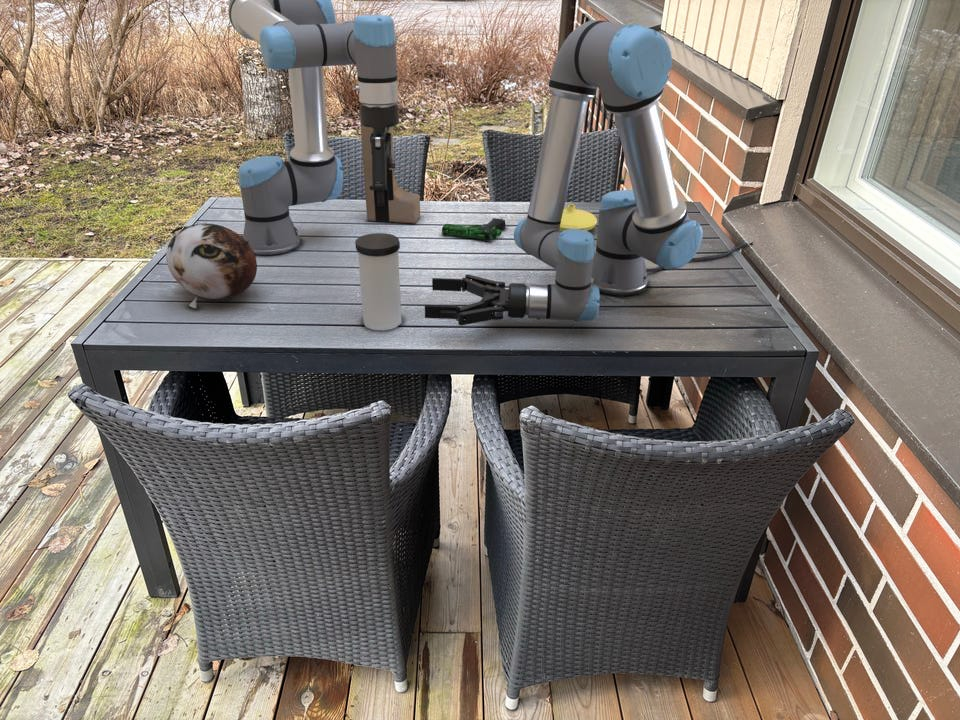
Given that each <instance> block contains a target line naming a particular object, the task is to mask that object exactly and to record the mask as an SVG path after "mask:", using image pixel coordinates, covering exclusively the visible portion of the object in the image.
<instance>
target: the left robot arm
mask: <svg viewBox="0 0 960 720" xmlns="http://www.w3.org/2000/svg"><path fill="white" fill-rule="evenodd" d="M332 1H333V0H230V1H229V3H228V9H227V10H228V11H227V12H228V19H229V22H230V24H231V26H232V28H233V29H234V30H235V31H236V32H237V33H238V34H239V35H240V36H242V37H243V38H245V39H247V40H250V41H253V42H254V41H255V42H256V43H257V44H258V45H259V46H260V52H261V56H262V59H263V61H264V64H265V66H266V67H267V68H269V69H271V70H284V71H287V70H288V82H289V94H290V106H291V116H292V125H293V126H292V127H293V128H292V129H293V140H294V141H293V142H294V147H293V148H292V149H291V150H290V151H289V160H283V158H282V157H281V156H279V155H263V156H258V157H254V158H251V159H248V160H246V161H245V162H243V163H241V165H240V166H239V167H238V170H237V174H238V186H239V190H240V194H241V195H240V196H241V201H242V207H243V212H244V213H243V215H244V219H245V220H244V226H243V228H244V229H243V235H240V236H241V237H243V238H244V239H245V240H246V241H249V242H248V244H249V245H250V247H251V248H252V250H253V252H254V254H255V256H256V255H257V256H275V255H281V254H282V255H283V254H285V253H289V252H291V251H293V250H296V249H297V248H298V247H299V246H300V244H301V241H300V235H299V233H298V229H297V228H296V226H295V225H294V223H293V220H292V218H291V216H290V207H292V206H293V207H294V206H298V205H306V204H314V203H324V202H327V201H332V200H336V199H337V198H338V197H339V196H340V195H341V193H342V190H343V187H344V171H343V165H342V162H341V159H340V158H339V157H338V156H337V155H335V151H334V150H333V149H332V148H331V147H330V146H329V139H328V124H327V121H328V119H327V104H326V102H327V101H326V88H325V87H326V86H325V71H324V67H336V66H337V67H338V66H352V65H353V66H354V65H355V66H356V75H357V76H356V78H357V84H358V85H354V86H355V87H354V90H355V91H357V92H358V101H359V102H360V103H361V104H360V106H359V116H360V117H359V118H360V119H359V122H360V121H361V124H362V125H363V126H365V127H371V128H373V133H371V136H370V143H371V155H372V182H373V185H372V186H370V190H374V204H375V219H376V221H375V223H378V222H379V223H380V222H382V223H385V222H388V223H390V222H389V202H388V200H394V193H393V174H392V170H390V169H394V170H395V169H396V162H394V163H392V162H393V159H392V154H391V133H389V127H392V128H393V127H396V126H398V125H399V124H400V113H399V112H400V111H399V105H398V104H397V103H398V102H399V84H398V81H399V80H398V71H397V70H398V69H397V43H396V42H397V35H396V28H395V21H394V19H393V17H391V16H390V15H386V14H384V15H383V14H361V15H357V16H356V17H354V19H353V20H344V21H342V22H339V23H338V22H337V21H336V13H335V8H334V5H333V2H332ZM361 124H360V125H361ZM377 182H380V183H377ZM183 227H184V228H186V227H188V226H187V225H186V226H178V227H176V228H174V229H173V230H171V232H170V234H176V233H177V232H179V231H180V230H182V228H183ZM184 228H183V229H184Z"/></svg>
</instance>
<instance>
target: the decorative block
mask: <svg viewBox="0 0 960 720" xmlns="http://www.w3.org/2000/svg"><path fill="white" fill-rule="evenodd" d="M359 124H360V137H361V151H362V164H363V165H362V166H363V180H364V194H365V209H366V219H367V221H371V222H376V219H375V204H374V190H370V186H372V185H373V182H372V155H371V143H370V136H371V133H373V128H371V127H365V126H363V125H362V124H361V121H360V120H359ZM389 133H391V154H392V159H393V162H392V163H395V161H394V158H395V157H394V138H393V137H394V136H393V135H394V134H393V127H389ZM390 170H392V174H393V193H394V200H388V202H389V222H388V223H403V224H415V223H416V222H417V221H418V219H419V218H420V216H421V195H420V194H418V193H414V192H410V191H405V190H404V189H403V188H401V187H400V186H399V183H398V181H397V179H396V177H395V176H396V175H395V169H390ZM377 183H380V182H377Z"/></svg>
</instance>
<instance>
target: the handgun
mask: <svg viewBox="0 0 960 720" xmlns="http://www.w3.org/2000/svg"><path fill="white" fill-rule="evenodd" d="M505 228H506V220H505V219H503V218H497V217H492V219H491V220H490V221H489V222H488V223H483V224H482V225H479V224H472V225H459V224H453V223H445V224H443V226H442V227H441V235H446V236H454V237H462V238H469V239H470V238H471V239H474V240H479V241H484V242H491V241H492V240H494V239H495V238H497V237H500V236H502V230H504V229H505Z"/></svg>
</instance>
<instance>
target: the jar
mask: <svg viewBox="0 0 960 720" xmlns="http://www.w3.org/2000/svg"><path fill="white" fill-rule="evenodd" d="M357 257H358V266H359V267H358V268H359V269H358V270H359V280H360V281H359V283H360V297H361V308H362V320H363V325H364V326H365V327H366V328H367V329H370V330H373V331H388V330H392V329H395V328H398V327H399V326H400V325H401V324H402V302H401V301H402V300H401V281H400V280H401V279H400V278H401V277H400V261H399V260H400V259H399V250H398V251H397V252H395V253H393V254H389V255H385V256H368V255H363V254H361V253H359V252H358V251H357Z"/></svg>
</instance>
